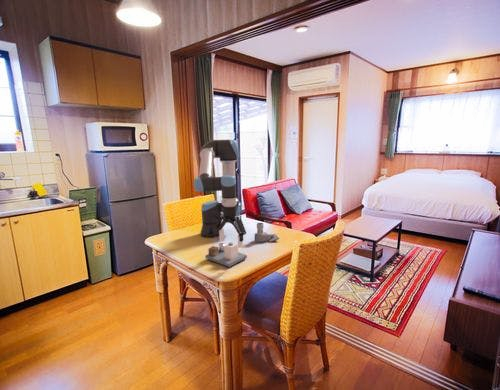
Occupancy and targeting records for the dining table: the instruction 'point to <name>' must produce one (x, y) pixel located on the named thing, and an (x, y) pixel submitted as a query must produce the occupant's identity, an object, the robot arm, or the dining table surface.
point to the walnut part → (213, 251)
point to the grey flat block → (227, 262)
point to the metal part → (221, 247)
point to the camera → (264, 235)
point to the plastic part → (231, 251)
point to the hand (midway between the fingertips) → (230, 243)
